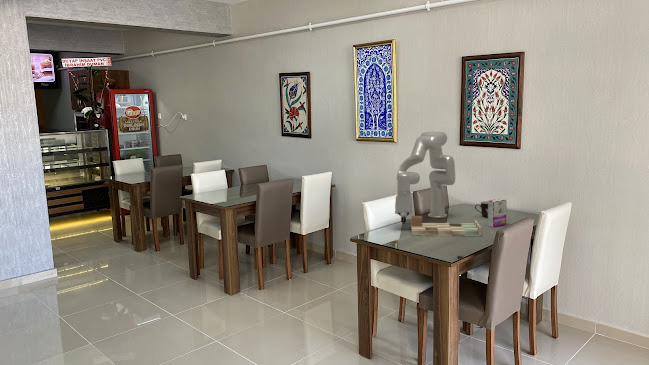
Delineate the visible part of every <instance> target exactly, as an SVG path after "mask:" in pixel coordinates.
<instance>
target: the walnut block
mask: <svg viewBox="0 0 649 365" xmlns="http://www.w3.org/2000/svg"><path fill="white" fill-rule="evenodd" d="M411 223H412V226H422V223H423V216H422V215H411Z"/></svg>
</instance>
